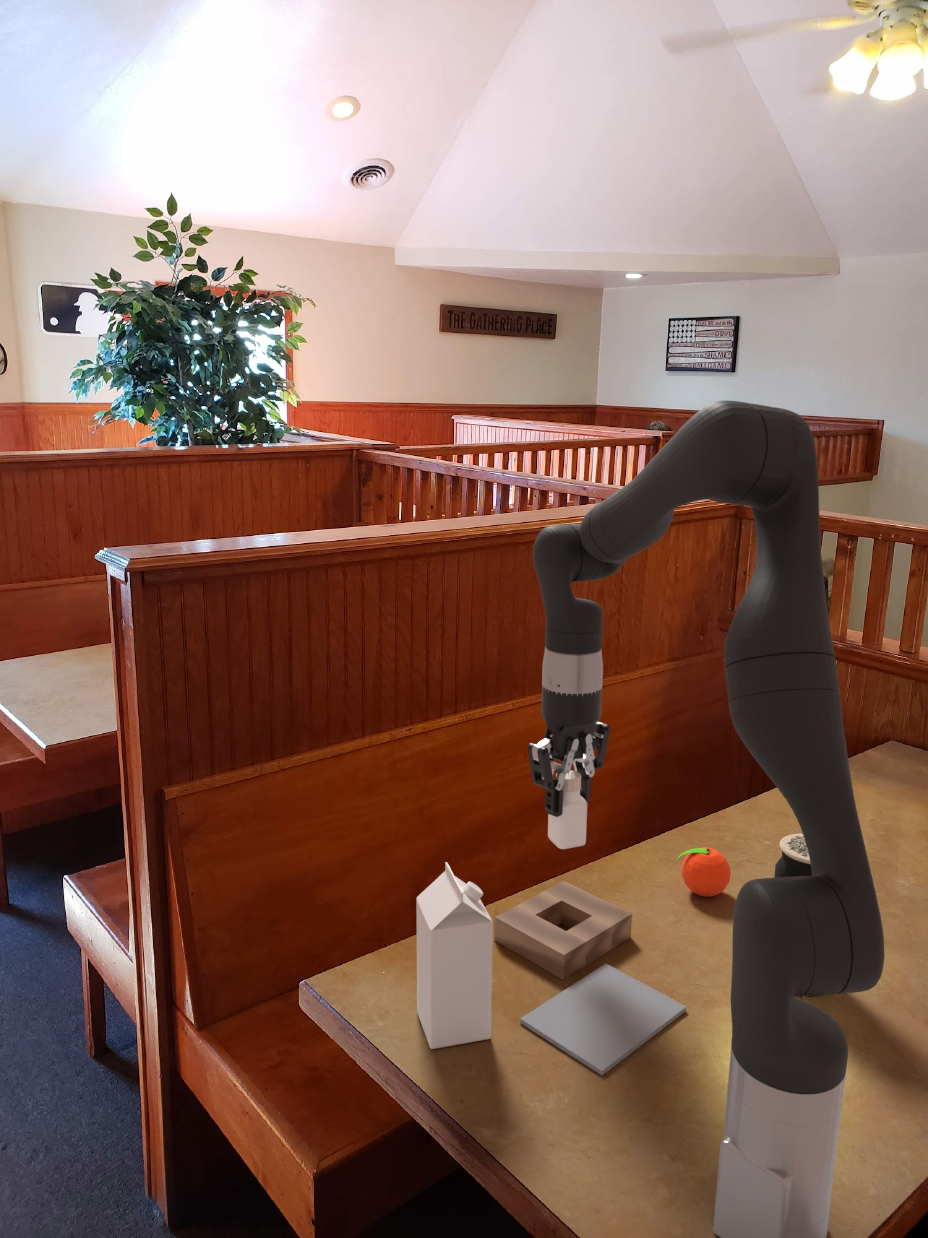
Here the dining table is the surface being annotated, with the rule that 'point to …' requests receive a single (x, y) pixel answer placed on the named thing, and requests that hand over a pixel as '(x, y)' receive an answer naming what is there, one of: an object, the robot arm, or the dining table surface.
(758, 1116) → the robot arm
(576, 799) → the salt shaker
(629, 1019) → the placemat
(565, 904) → the shaker holder
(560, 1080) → the dining table surface
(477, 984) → the milk carton
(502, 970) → the dining table surface
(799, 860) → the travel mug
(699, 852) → the clementine
